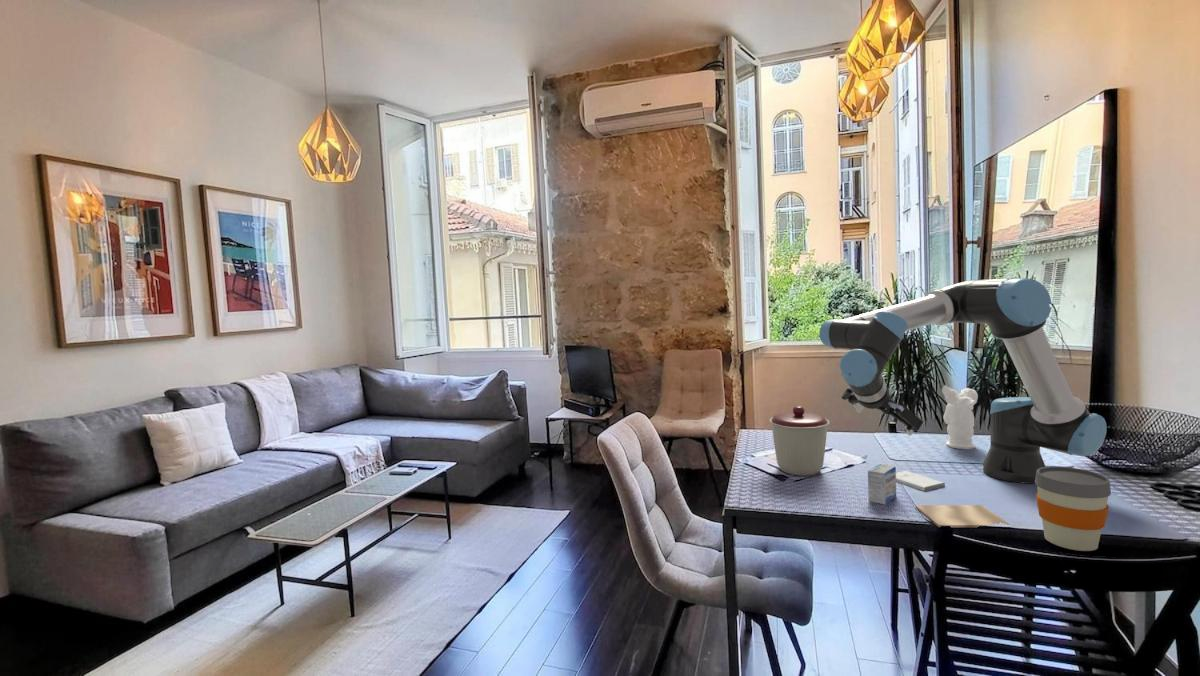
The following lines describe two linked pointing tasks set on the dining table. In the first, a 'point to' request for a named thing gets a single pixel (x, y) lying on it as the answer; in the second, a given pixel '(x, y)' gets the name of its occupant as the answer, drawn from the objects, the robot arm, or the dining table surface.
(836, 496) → the dining table surface
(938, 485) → the external hard drive
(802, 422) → the canister
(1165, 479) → the dining table surface
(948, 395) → the cherub figurine
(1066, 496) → the reusable coffee cup
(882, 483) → the medicine box
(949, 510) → the cork mat
